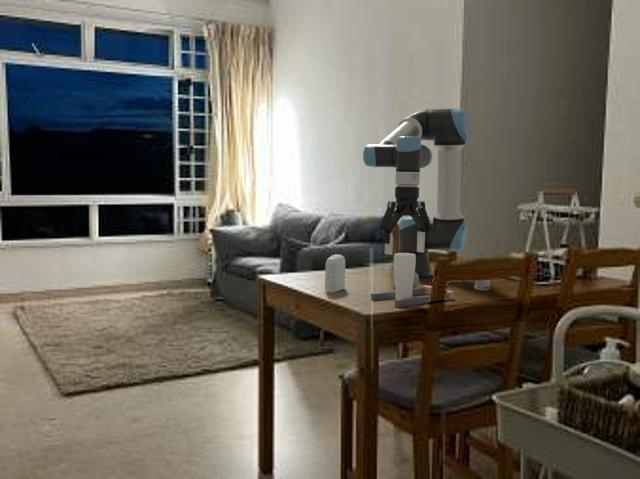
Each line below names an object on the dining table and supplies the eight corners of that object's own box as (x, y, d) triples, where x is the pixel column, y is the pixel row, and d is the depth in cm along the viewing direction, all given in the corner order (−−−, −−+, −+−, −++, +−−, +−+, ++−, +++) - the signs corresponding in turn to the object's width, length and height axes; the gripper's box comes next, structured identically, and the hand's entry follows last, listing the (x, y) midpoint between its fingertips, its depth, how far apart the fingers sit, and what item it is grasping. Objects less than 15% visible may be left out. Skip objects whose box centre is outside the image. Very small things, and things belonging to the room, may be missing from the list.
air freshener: (390, 285, 235) (391, 258, 234) (412, 285, 236) (413, 258, 235) (396, 291, 224) (397, 262, 223) (420, 291, 225) (421, 262, 224)
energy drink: (490, 288, 232) (491, 255, 231) (488, 291, 227) (490, 257, 226) (474, 287, 234) (476, 254, 233) (473, 289, 229) (474, 256, 228)
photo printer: (335, 293, 218) (335, 257, 217) (323, 292, 220) (324, 256, 219) (346, 288, 228) (347, 253, 226) (335, 287, 229) (335, 252, 228)
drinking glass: (391, 298, 212) (392, 252, 210) (411, 298, 213) (413, 252, 211) (395, 302, 205) (396, 255, 204) (416, 302, 206) (417, 255, 204)
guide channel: (425, 292, 223) (425, 285, 223) (453, 299, 212) (453, 291, 212) (371, 299, 209) (371, 291, 209) (398, 307, 199) (398, 299, 198)
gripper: (384, 186, 194) (382, 256, 196) (444, 186, 208) (441, 252, 210) (368, 185, 200) (366, 253, 202) (427, 186, 214) (425, 249, 217)
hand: (404, 253), depth 206 cm, fingers open, 13 cm apart
